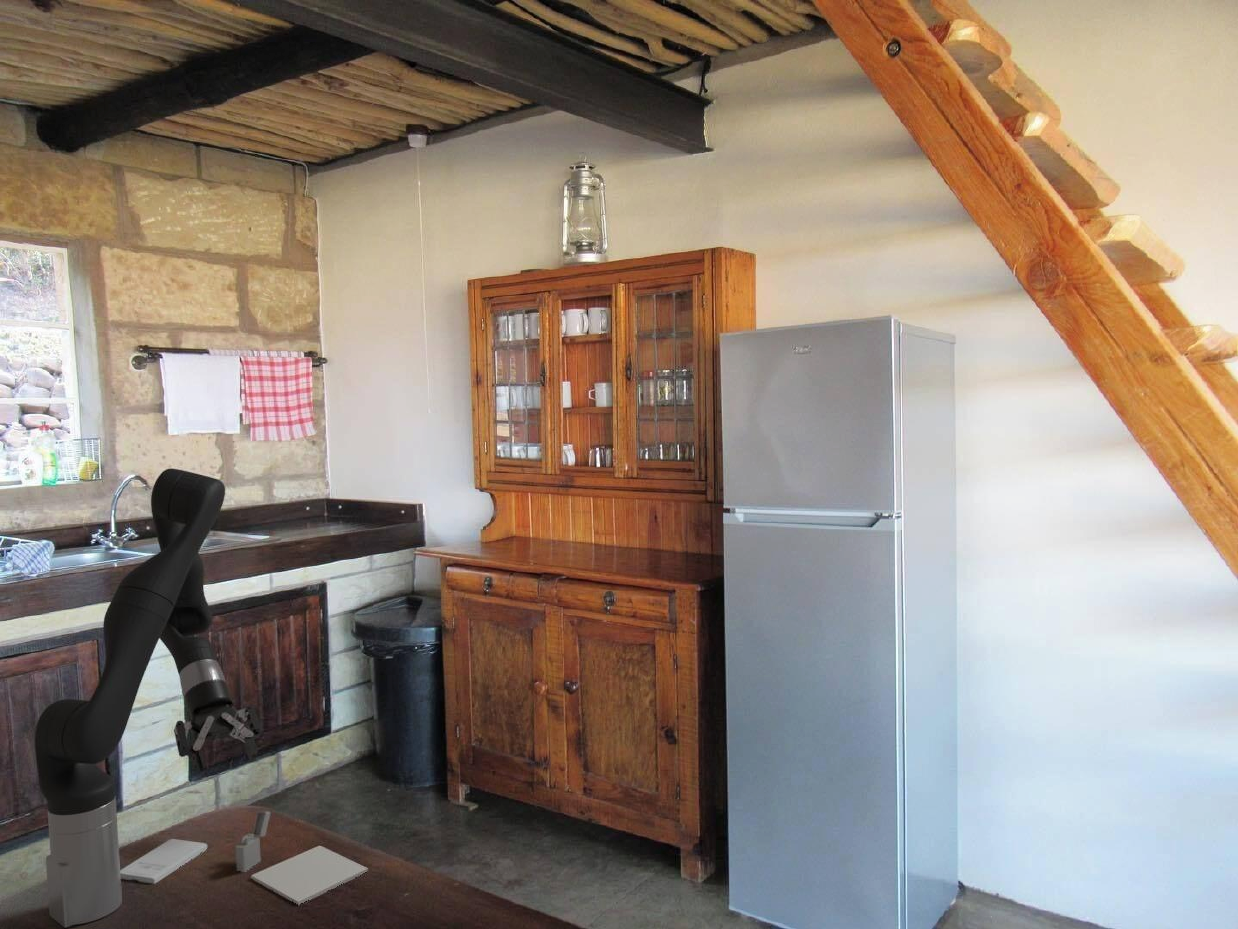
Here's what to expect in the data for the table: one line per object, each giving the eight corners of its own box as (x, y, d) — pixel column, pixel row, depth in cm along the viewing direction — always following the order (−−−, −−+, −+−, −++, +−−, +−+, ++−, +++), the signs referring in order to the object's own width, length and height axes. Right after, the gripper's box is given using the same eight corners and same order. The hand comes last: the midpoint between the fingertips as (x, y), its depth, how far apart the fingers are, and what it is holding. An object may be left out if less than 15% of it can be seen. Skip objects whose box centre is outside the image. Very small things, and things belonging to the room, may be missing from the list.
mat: (298, 905, 146) (298, 901, 146) (251, 879, 155) (251, 875, 155) (368, 872, 156) (367, 868, 156) (319, 848, 165) (319, 845, 165)
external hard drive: (207, 852, 166) (154, 887, 154) (170, 847, 168) (114, 881, 156) (207, 843, 166) (154, 877, 154) (169, 838, 168) (114, 871, 156)
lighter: (244, 872, 157) (242, 826, 156) (236, 871, 157) (233, 825, 157) (272, 853, 164) (270, 809, 163) (264, 852, 164) (262, 807, 164)
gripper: (168, 687, 169) (191, 766, 161) (247, 670, 178) (273, 744, 170) (161, 709, 173) (183, 787, 165) (239, 692, 183) (264, 765, 175)
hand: (229, 765), depth 168 cm, fingers open, 8 cm apart
